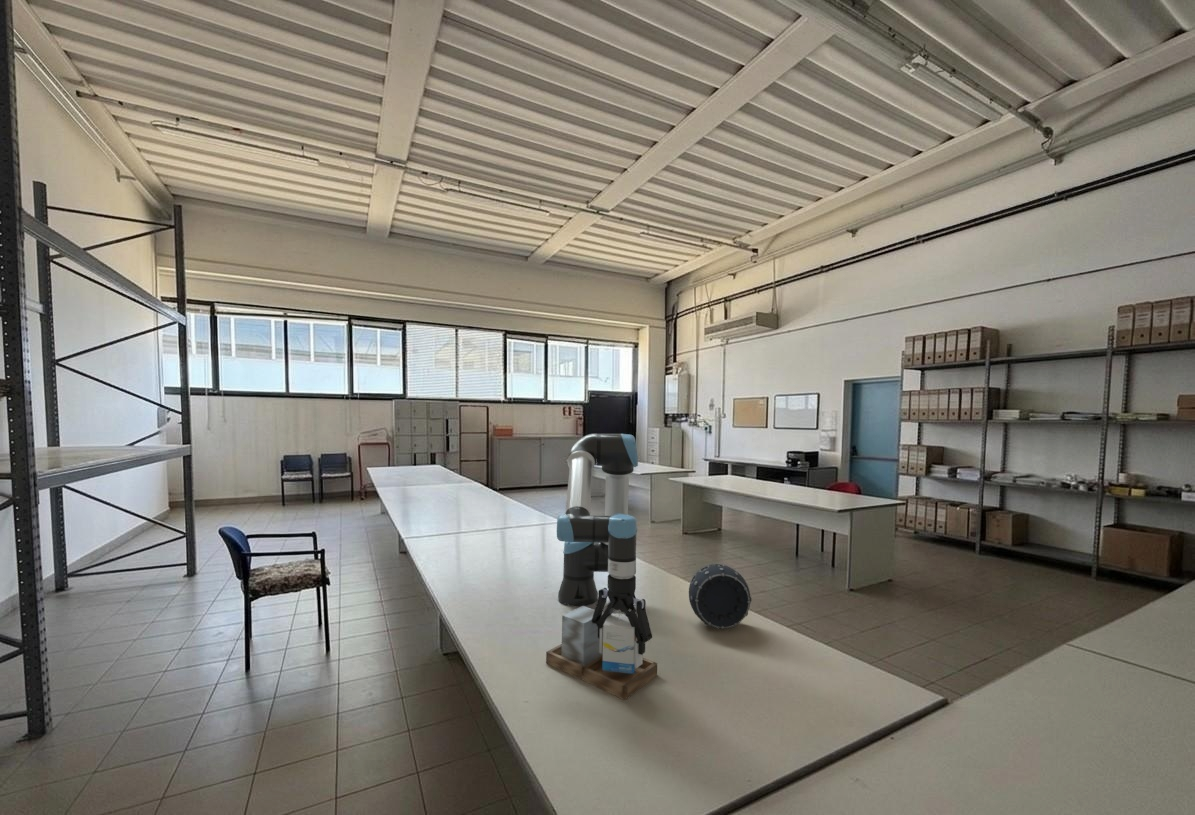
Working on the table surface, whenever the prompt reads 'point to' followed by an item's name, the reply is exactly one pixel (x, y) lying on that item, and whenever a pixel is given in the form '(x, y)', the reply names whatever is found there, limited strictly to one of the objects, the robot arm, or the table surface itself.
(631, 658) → the ink box
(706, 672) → the table surface
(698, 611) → the dark round pouf
